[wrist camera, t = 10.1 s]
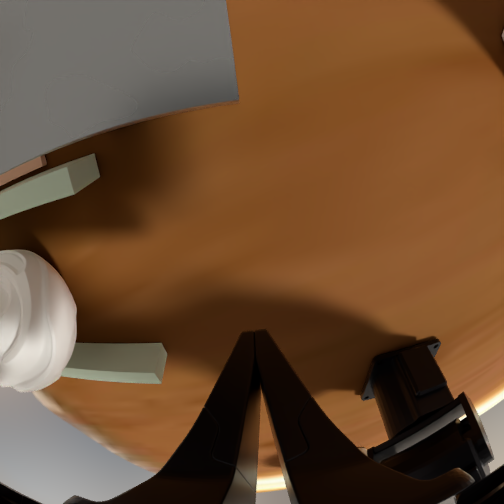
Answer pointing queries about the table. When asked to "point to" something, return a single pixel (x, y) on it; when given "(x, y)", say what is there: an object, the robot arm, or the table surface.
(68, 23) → the grey block
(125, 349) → the frame
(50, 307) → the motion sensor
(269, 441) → the table surface
